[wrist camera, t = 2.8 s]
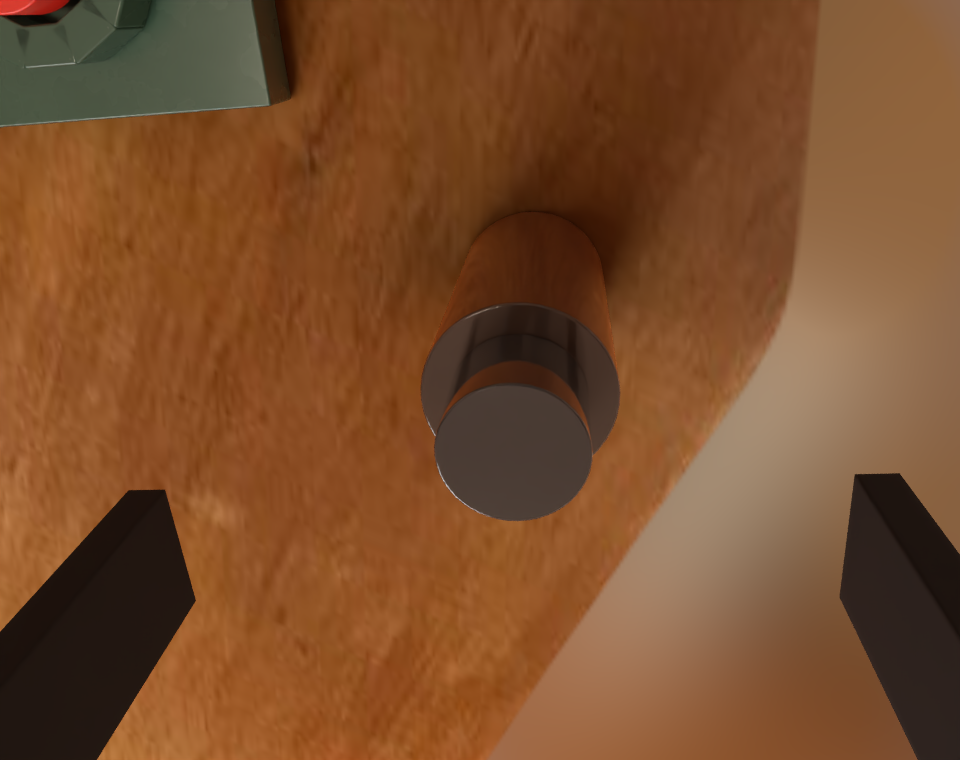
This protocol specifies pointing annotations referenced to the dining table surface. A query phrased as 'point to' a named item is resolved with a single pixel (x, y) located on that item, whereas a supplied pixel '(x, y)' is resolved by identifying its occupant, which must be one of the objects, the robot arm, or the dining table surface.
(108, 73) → the base
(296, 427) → the dining table surface
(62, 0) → the button
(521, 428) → the metal bottle
